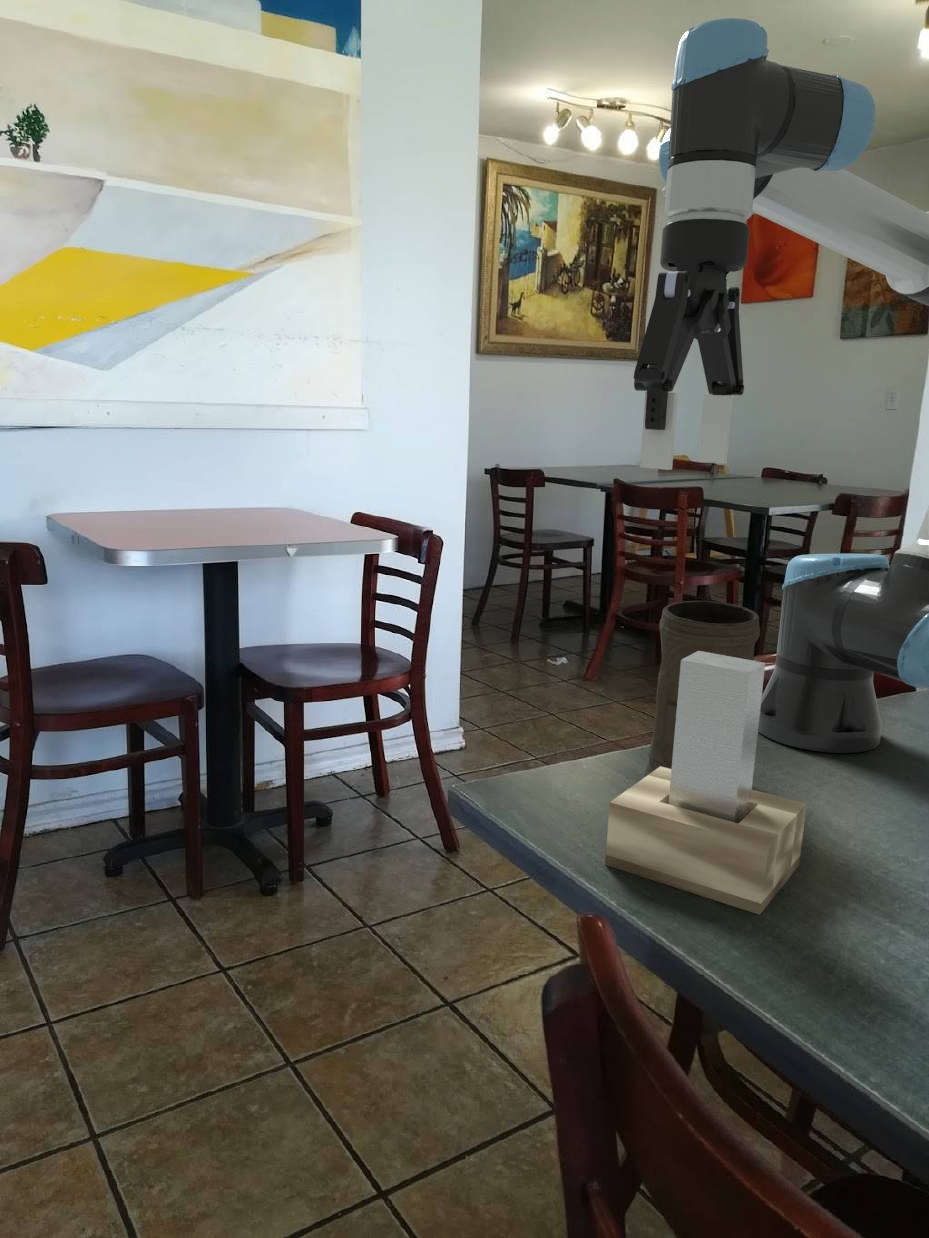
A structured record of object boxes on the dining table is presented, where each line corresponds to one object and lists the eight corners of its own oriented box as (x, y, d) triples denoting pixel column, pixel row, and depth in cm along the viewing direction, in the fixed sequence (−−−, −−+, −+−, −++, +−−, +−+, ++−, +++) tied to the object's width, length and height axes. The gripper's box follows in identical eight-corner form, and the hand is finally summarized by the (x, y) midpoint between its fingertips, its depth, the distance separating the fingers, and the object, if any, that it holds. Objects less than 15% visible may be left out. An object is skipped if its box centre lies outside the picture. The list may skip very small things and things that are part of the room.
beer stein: (750, 817, 99) (771, 624, 94) (642, 805, 101) (657, 615, 96) (739, 763, 114) (757, 594, 109) (645, 753, 116) (659, 587, 111)
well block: (655, 823, 97) (660, 766, 95) (799, 865, 89) (806, 803, 88) (605, 864, 88) (609, 802, 86) (759, 914, 80) (767, 847, 79)
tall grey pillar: (681, 837, 91) (698, 650, 87) (744, 856, 88) (765, 662, 84) (664, 853, 88) (681, 659, 84) (729, 872, 85) (749, 672, 81)
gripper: (716, 245, 99) (697, 458, 104) (604, 200, 79) (587, 468, 83) (791, 240, 95) (768, 463, 99) (693, 193, 75) (670, 475, 79)
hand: (685, 466), depth 91 cm, fingers open, 13 cm apart
